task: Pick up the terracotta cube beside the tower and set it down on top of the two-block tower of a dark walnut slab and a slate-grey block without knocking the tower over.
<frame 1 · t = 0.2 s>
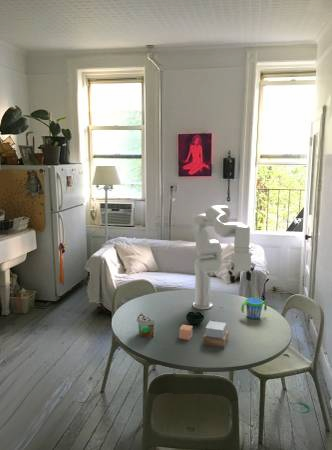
hand: (240, 281, 201), 31 cm above the table, tool pointing down, fingers open, 9 cm apart
snack cup: (253, 317, 232), on the table
food container: (143, 335, 208), on the table
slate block: (215, 333, 201), point 4 cm above the table, touching walnut slab
walnut slab: (215, 341, 202), on the table, touching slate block
terracotta cube: (186, 337, 207), on the table
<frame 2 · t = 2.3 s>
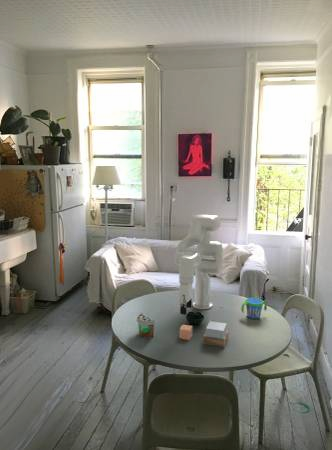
hand: (186, 310, 203), 15 cm above the table, tool pointing down, fingers open, 9 cm apart
nothing on the table moved.
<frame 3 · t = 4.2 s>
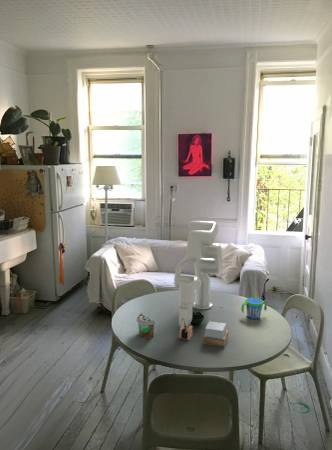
hand: (186, 335, 206), 1 cm above the table, tool pointing down, fingers closed on terracotta cube, 5 cm apart
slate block: (215, 333, 201), point 4 cm above the table
walnut slab: (215, 341, 203), on the table
terracotta cube: (186, 336, 207), on the table, touching gripper
everything else where it was.
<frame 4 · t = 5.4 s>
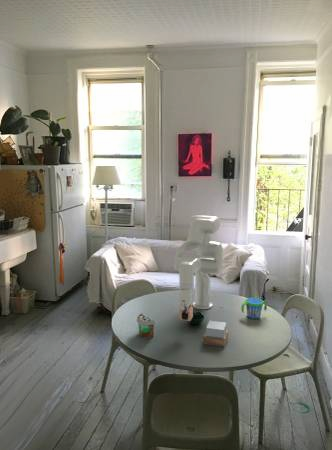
hand: (186, 316, 205), 11 cm above the table, tool pointing down, fingers closed on terracotta cube, 5 cm apart
terracotta cube: (186, 318, 205), point 10 cm above the table, touching gripper
everything else where it was.
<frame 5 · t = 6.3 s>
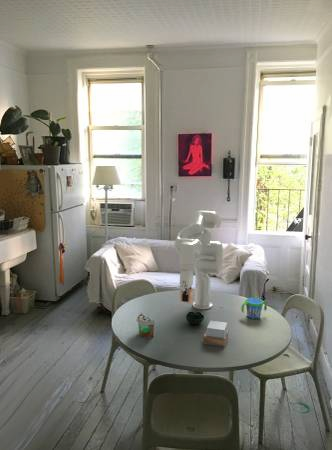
hand: (186, 298, 203), 21 cm above the table, tool pointing down, fingers closed on terracotta cube, 5 cm apart
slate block: (217, 333, 202), point 4 cm above the table, touching walnut slab
walnut slab: (215, 341, 203), on the table, touching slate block
terracotta cube: (186, 300, 203), point 21 cm above the table, touching gripper
everything else where it was.
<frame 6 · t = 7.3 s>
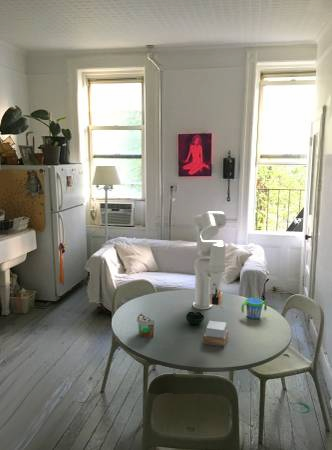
hand: (216, 301, 198), 21 cm above the table, tool pointing down, fingers closed on terracotta cube, 5 cm apart
terracotta cube: (216, 303, 199), point 21 cm above the table, touching gripper
everything else where it was.
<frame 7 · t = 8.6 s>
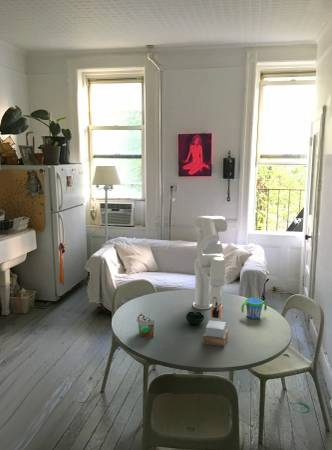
hand: (216, 314, 199), 14 cm above the table, tool pointing down, fingers closed on terracotta cube, 5 cm apart
terracotta cube: (216, 316, 200), point 14 cm above the table, touching gripper
everything else where it was.
when the fingers open (11 cm above the table, at t = 10.1 s): terracotta cube drops 2 cm, point 9 cm above the table.
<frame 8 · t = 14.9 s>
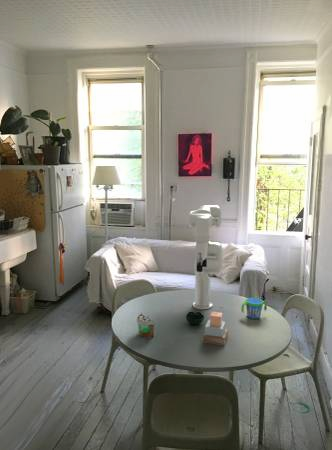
hand: (201, 269, 214), 33 cm above the table, tool pointing down, fingers open, 9 cm apart
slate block: (215, 332, 203), point 4 cm above the table, touching walnut slab
terracotta cube: (216, 324, 202), point 9 cm above the table
at the end: terracotta cube 0.4 cm off-centre on the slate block, point 4.5 cm above the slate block's base; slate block 0.4 cm off-centre on the walnut slab, point 4.5 cm above the walnut slab's base; walnut slab moved 1.8 cm from its start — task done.
